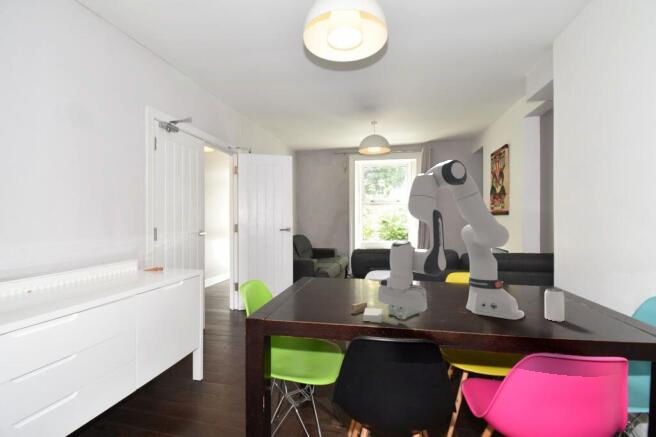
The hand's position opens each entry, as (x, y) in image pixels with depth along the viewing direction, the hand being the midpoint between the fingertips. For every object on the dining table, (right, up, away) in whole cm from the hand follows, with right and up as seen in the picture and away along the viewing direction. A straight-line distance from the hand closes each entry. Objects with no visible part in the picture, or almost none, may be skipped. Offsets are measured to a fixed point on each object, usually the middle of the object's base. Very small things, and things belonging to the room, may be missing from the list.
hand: (401, 318), depth 121 cm
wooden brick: (-15, -2, +15) cm, 21 cm away
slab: (-10, -2, +6) cm, 12 cm away
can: (+63, -2, +4) cm, 63 cm away
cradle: (+4, -2, +12) cm, 13 cm away
